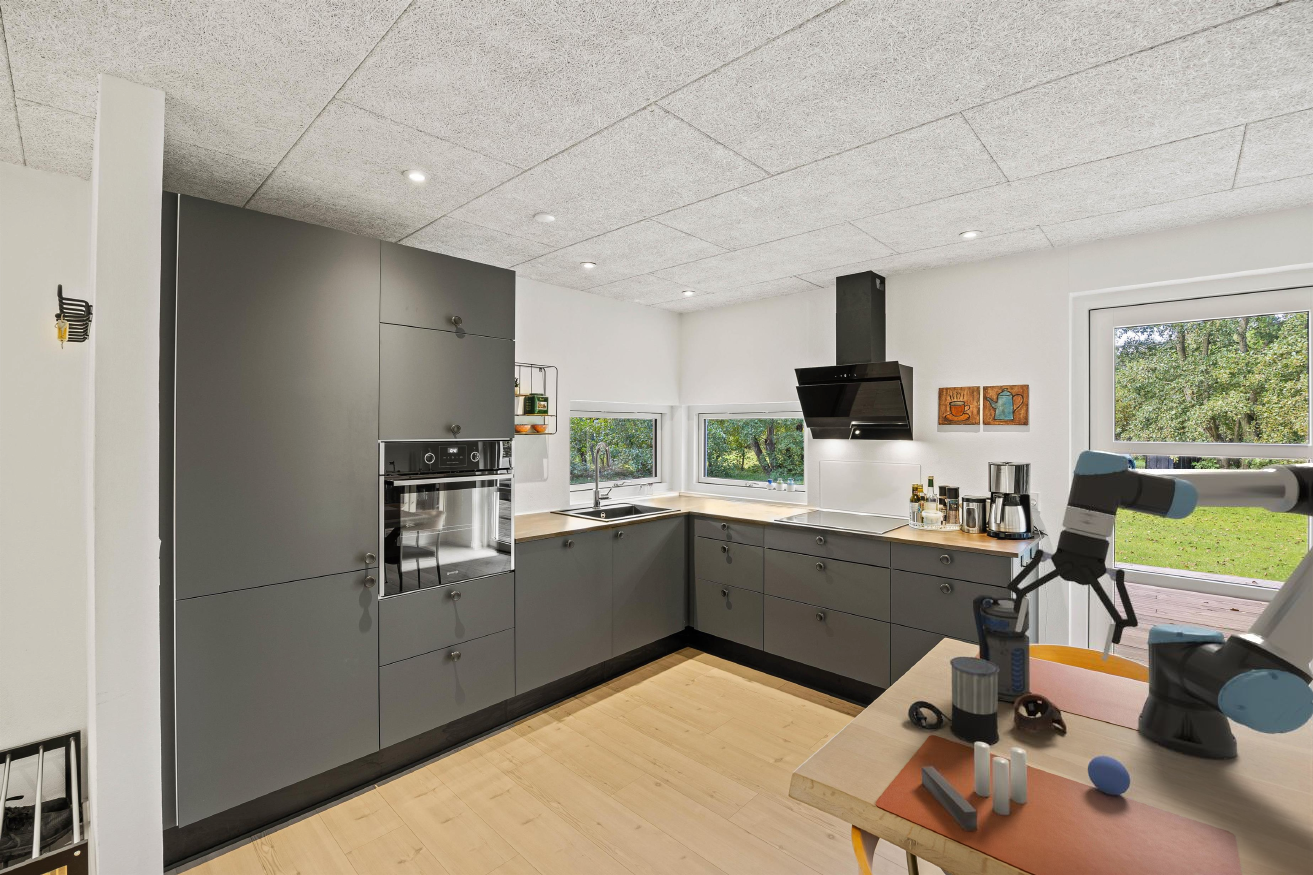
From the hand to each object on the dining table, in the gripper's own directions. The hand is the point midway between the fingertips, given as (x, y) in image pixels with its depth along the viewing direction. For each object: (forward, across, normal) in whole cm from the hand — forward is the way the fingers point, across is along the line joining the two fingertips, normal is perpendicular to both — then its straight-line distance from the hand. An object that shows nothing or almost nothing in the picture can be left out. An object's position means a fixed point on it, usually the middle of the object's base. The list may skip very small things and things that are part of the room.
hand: (1059, 644), depth 112 cm
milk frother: (+27, -15, +8) cm, 32 cm away
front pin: (+26, 0, -11) cm, 28 cm away
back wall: (+29, -9, -20) cm, 36 cm away
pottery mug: (+23, -1, +20) cm, 30 cm away
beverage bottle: (+23, -10, +32) cm, 41 cm away
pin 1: (+27, -6, -13) cm, 31 cm away
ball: (+19, +11, 0) cm, 22 cm away
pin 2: (+27, -2, -16) cm, 32 cm away
